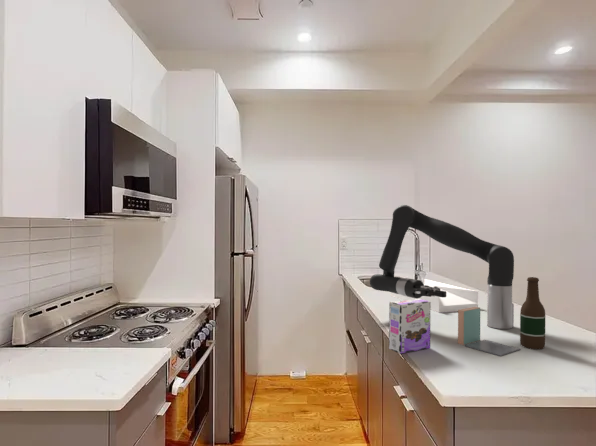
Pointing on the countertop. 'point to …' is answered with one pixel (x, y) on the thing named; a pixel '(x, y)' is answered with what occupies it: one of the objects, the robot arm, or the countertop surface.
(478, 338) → the tile
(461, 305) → the building model
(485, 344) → the slate mat
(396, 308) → the candy box
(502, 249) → the robot arm
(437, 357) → the countertop surface
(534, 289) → the beer bottle
